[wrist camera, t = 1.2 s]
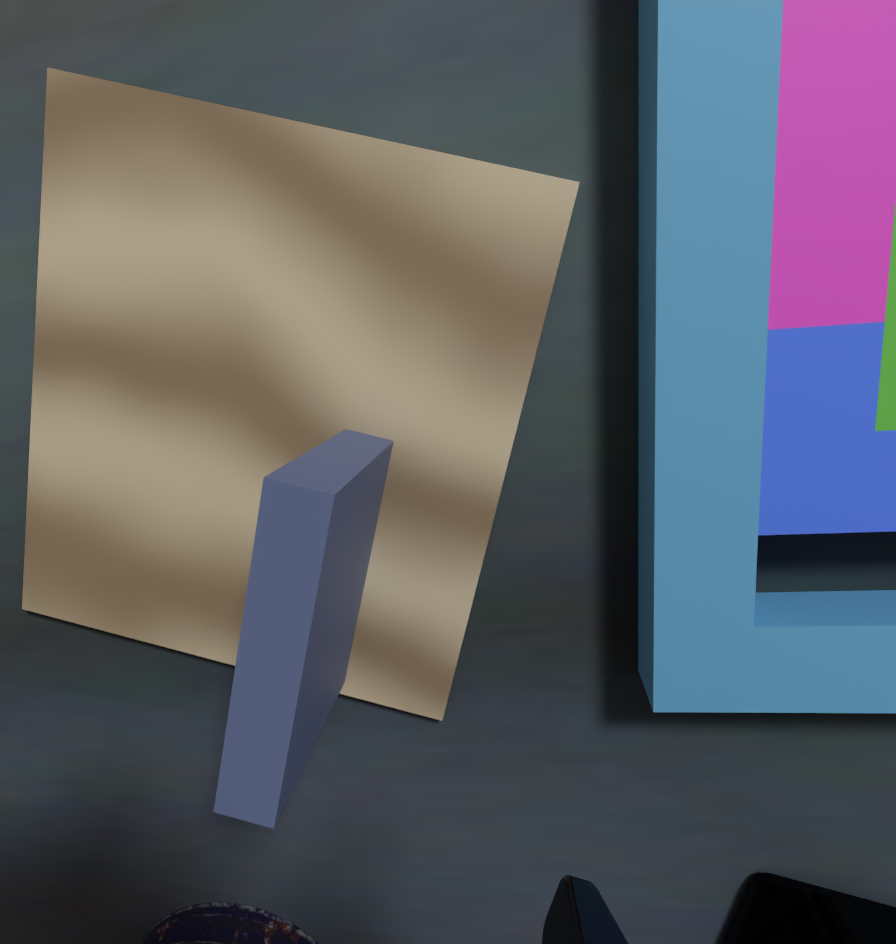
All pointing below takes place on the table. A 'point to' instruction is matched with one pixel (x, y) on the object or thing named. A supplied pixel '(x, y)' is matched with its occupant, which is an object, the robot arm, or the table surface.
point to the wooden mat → (271, 364)
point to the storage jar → (225, 927)
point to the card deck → (298, 617)
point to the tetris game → (764, 346)
